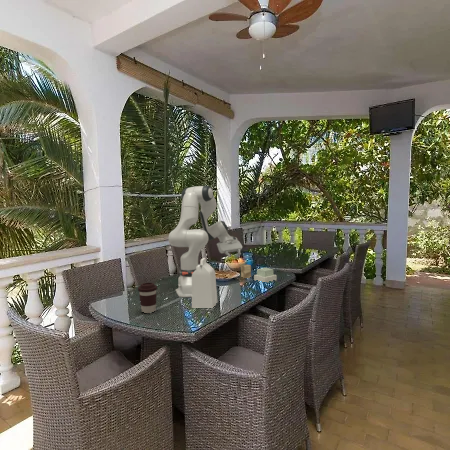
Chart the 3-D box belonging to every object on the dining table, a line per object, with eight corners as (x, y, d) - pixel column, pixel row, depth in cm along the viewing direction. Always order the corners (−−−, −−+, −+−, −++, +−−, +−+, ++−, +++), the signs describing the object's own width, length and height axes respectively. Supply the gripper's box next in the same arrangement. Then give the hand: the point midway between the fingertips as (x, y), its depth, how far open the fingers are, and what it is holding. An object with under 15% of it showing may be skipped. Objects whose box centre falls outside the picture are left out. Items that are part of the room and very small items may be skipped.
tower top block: (273, 275, 245) (273, 269, 245) (264, 276, 241) (264, 271, 240) (265, 273, 252) (265, 267, 251) (257, 274, 247) (257, 269, 247)
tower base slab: (276, 280, 245) (276, 275, 245) (265, 283, 238) (265, 277, 238) (265, 278, 254) (265, 272, 253) (254, 280, 247) (254, 275, 247)
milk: (212, 309, 188) (210, 261, 186) (191, 308, 191) (189, 260, 188) (217, 302, 200) (215, 256, 198) (197, 301, 202) (196, 256, 200)
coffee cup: (159, 308, 193) (158, 281, 191) (156, 314, 183) (155, 286, 181) (141, 309, 192) (139, 282, 191) (137, 315, 182) (135, 286, 181)
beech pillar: (251, 277, 254) (250, 265, 253) (245, 278, 251) (245, 266, 250) (246, 276, 258) (246, 264, 257) (241, 277, 255) (240, 265, 254)
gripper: (217, 240, 261) (225, 254, 255) (238, 237, 274) (247, 251, 267) (213, 245, 265) (222, 260, 259) (234, 242, 278) (243, 256, 271)
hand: (235, 255), depth 263 cm, fingers open, 8 cm apart
